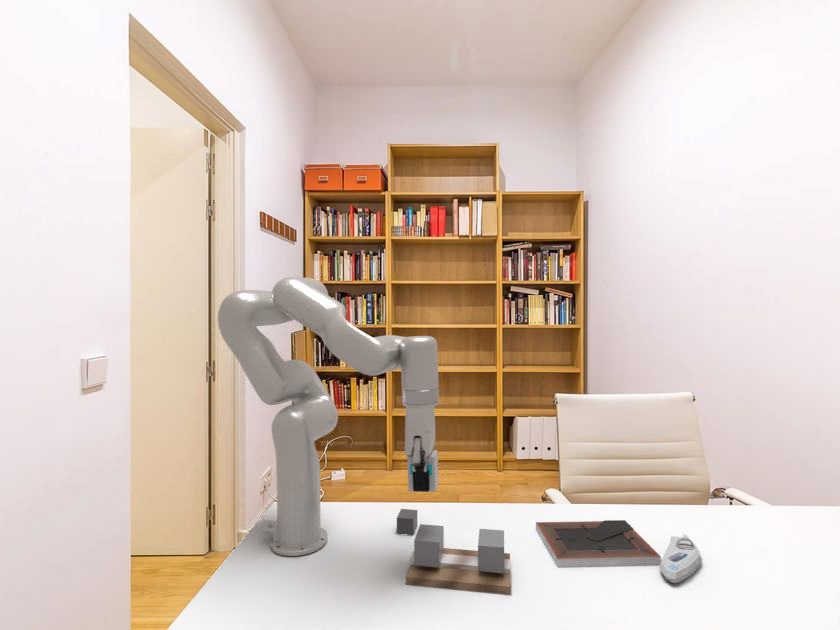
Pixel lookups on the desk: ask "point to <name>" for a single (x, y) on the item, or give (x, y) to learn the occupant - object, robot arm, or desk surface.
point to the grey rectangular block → (407, 521)
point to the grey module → (431, 467)
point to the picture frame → (596, 544)
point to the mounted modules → (432, 547)
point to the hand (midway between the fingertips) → (423, 484)
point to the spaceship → (680, 559)
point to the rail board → (460, 573)
